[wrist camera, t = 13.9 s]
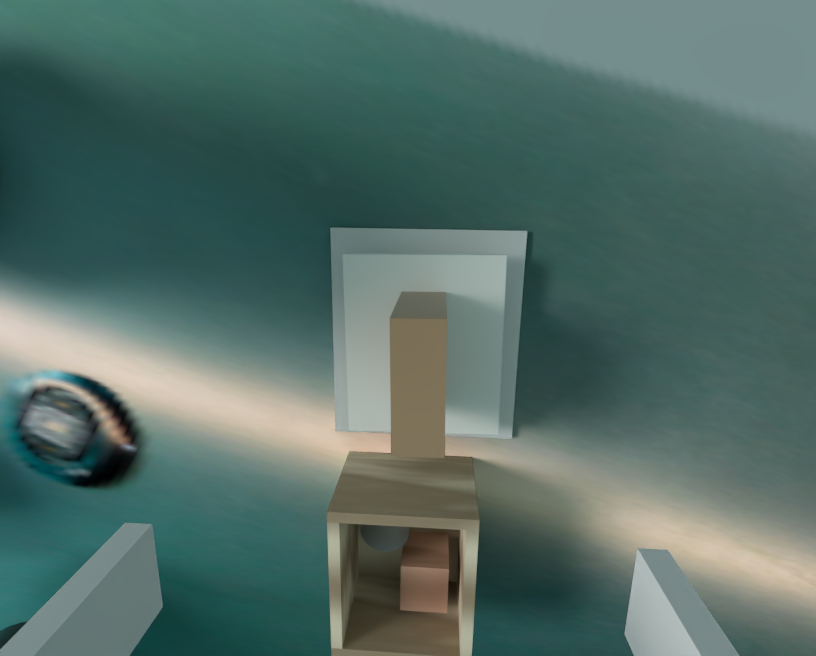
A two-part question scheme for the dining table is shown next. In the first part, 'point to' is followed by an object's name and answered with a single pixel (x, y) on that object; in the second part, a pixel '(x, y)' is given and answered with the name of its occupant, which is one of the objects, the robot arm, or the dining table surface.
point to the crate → (403, 556)
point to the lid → (424, 346)
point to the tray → (433, 243)
